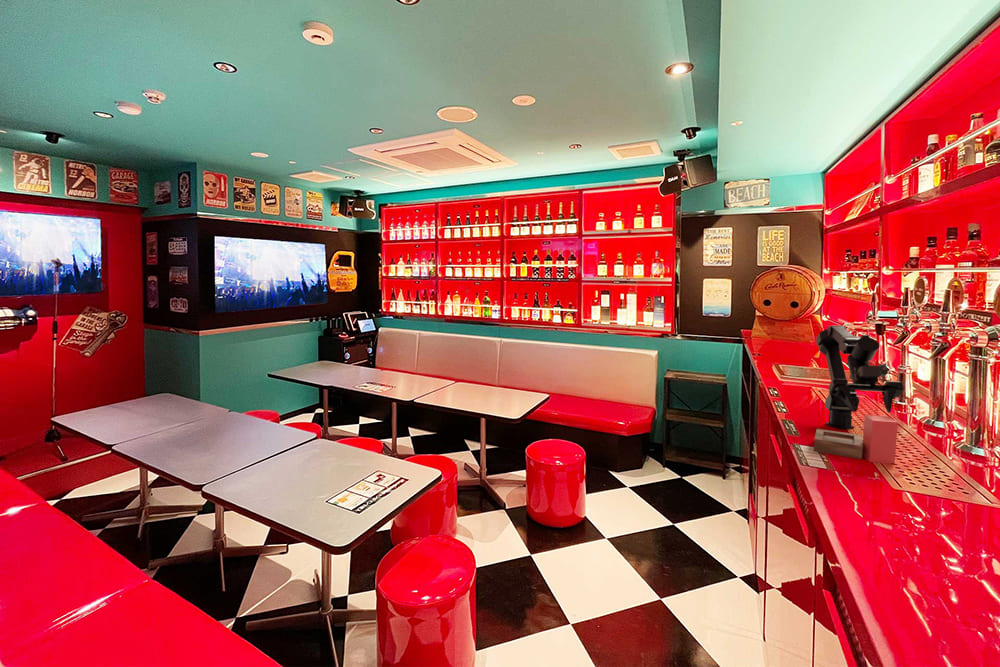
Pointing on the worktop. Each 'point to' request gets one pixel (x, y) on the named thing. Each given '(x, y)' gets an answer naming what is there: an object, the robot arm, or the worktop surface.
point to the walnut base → (838, 443)
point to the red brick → (879, 439)
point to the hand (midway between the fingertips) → (871, 410)
